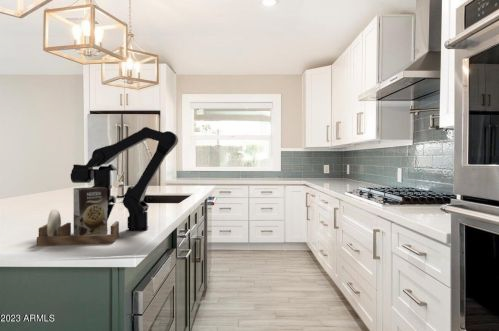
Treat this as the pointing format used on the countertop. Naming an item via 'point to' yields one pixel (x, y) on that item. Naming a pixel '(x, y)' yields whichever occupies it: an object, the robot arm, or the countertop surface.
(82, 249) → the countertop surface
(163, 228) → the countertop surface
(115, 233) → the rack
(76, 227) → the coffee box
